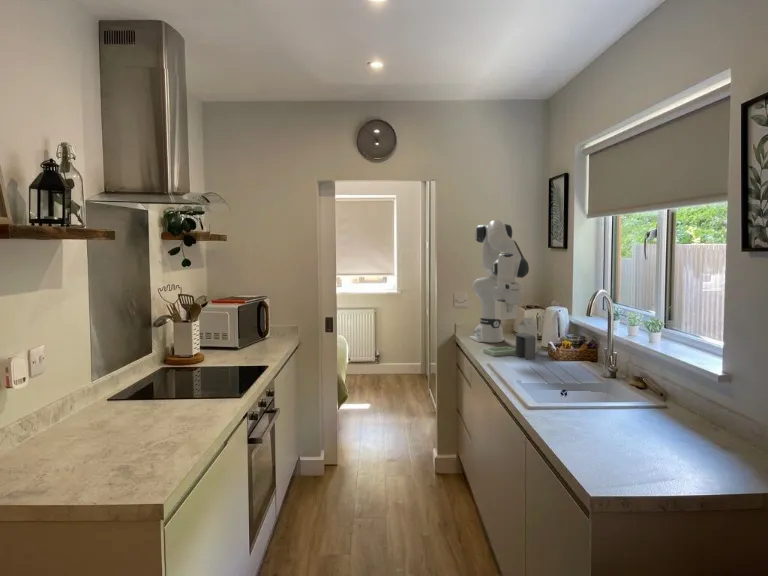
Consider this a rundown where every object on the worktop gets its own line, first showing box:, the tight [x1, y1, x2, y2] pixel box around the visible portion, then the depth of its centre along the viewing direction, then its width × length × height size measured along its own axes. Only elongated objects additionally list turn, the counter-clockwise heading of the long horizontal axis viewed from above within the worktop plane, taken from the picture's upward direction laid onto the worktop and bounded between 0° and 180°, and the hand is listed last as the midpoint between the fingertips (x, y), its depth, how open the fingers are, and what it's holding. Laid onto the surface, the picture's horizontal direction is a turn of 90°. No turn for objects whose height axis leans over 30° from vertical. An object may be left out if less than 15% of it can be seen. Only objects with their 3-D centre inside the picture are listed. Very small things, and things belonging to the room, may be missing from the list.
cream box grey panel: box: [495, 299, 518, 321], centre depth 282 cm, size 5×10×10 cm, turn 111°
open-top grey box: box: [514, 333, 536, 360], centre depth 288 cm, size 10×6×12 cm, turn 21°
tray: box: [482, 345, 516, 357], centre depth 299 cm, size 11×16×2 cm
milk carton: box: [517, 316, 538, 353], centre depth 301 cm, size 7×7×19 cm
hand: (505, 311), depth 283 cm, fingers closed on cream box grey panel, 5 cm apart
